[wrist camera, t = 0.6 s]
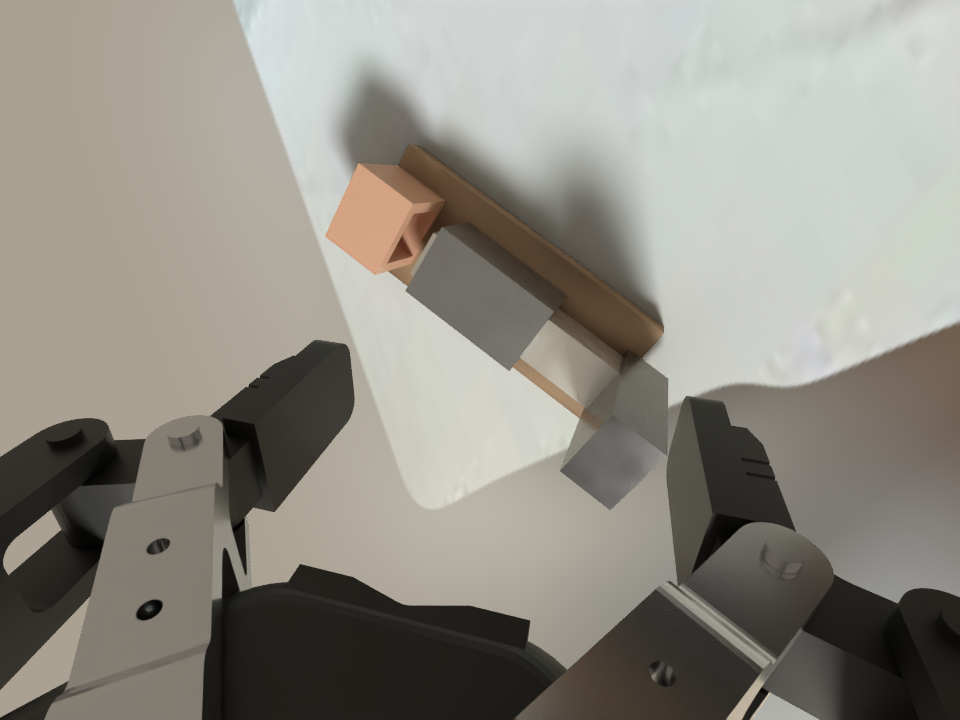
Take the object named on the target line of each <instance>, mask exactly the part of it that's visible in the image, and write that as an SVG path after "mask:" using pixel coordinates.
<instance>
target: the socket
mask: <svg viewBox="0 0 960 720" xmlns="http://www.w3.org/2000/svg"><path fill="white" fill-rule="evenodd" d="M445 202H446V201H445V200H444V199H443V198H441V197H440V196H439V195H437V194H436V193H435V192H433V191H432V190H431V189H429V188H428V187H427V186H425V185H424V184H423V183H421V182H420V181H419V180H417V179H416V178H415V177H413V176H412V175H411V174H409V173H408V172H407V171H405V170H404V169H403V168H401V167H400V166H399V165H385V164H368V163H358V165H357V167H356V170H355V172H354V174H353V176H352V178H351V181H350V183H349V185H348V187H347V189H346V191H345V194H344V196H343V198H342V200H341V202H340V205H339V207H338V209H337V211H336V213H335V216H334V218H333V220H332V222H331V224H330V226H329V229H328V231H327V233H326V235H325V237H327V238H328V239H329V240H331V241H332V242H333V243H334V244H336V245H337V246H338V247H340V248H341V249H342V250H344V251H345V252H346V253H347V254H349V255H350V256H351V257H353V258H354V259H355V260H356V261H358V262H359V263H360V264H362V265H363V266H364V267H366V268H367V269H368V270H369V271H371V272H372V273H373V274H375V275H377V274H380V273H383V272H386V271H390V270H393V269H396V268H399V267H402V266H405V265H409V264H411V263H412V261H413V259H414V257H415V256H416V254H417V252H418V250H419V249H420V247H421V245H422V243H423V241H424V240H425V238H426V236H427V234H428V233H429V231H430V229H431V227H432V225H433V224H434V222H435V220H436V218H437V217H438V215H439V213H440V211H441V209H442V208H443V206H444V204H445Z"/></svg>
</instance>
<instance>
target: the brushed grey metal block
mask: <svg viewBox="0 0 960 720" xmlns="http://www.w3.org/2000/svg"><path fill="white" fill-rule="evenodd" d="M438 233H439V232H434V233H433V234H432V236H431V238H430V240H429V241H428V243H427V245H426V247H425V248H424V250H423V252H422V254H421V255H420V257H419V259H418V261H417V262H416V264H415V266H414V268H413V269H412V271H411V273H410V274H411V275H413V276H414V275H415V273H416V271H417V270H418V268H419V266H420V264H421V263H422V261H423V259H424V257H425V256H426V254H427V252H428V250H429V249H430V247H431V245H432V243H433V242H434V240H435V238H436V236H437V235H438ZM520 358H521V359H522V360H523V361H525V362H526V363H527V364H529V365H530V366H531V367H533V368H534V369H535V370H537V371H538V372H539V373H540V374H542V375H543V376H544V377H546V378H547V379H548V380H550V381H551V382H552V383H553V384H555V385H556V386H557V387H559V388H560V389H561V390H563V391H564V392H565V393H567V394H568V395H569V396H570V397H572V398H573V399H574V400H576V401H577V402H578V403H580V404H581V405H582V406H583V407H584V409H583V412H582V414H581V417H580V420H579V422H578V425H577V427H576V430H575V433H574V435H573V438H572V441H571V443H570V446H569V448H568V451H567V454H566V457H565V459H564V461H563V464H562V467H561V469H560V471H561V472H562V473H563V474H565V475H566V476H567V477H569V478H570V479H571V480H572V481H574V482H575V483H576V484H577V485H579V486H580V487H581V488H583V489H584V490H585V491H587V492H588V493H589V494H590V495H592V496H593V497H594V498H595V499H597V500H598V501H599V502H601V503H602V504H603V505H604V506H606V507H607V508H608V509H610V510H611V509H612V508H613V507H614V506H615V505H616V504H617V503H618V502H619V501H620V500H621V499H622V498H623V497H625V496H626V495H627V494H628V493H629V492H630V491H631V490H632V489H633V488H634V487H635V486H636V485H637V484H638V483H639V482H640V481H642V480H643V479H644V478H645V477H646V476H647V475H648V474H649V473H650V472H651V471H652V470H653V469H654V468H655V467H656V466H657V465H658V464H659V463H661V462H662V461H663V460H664V459H665V458H666V457H667V436H668V433H667V432H668V378H666V377H665V376H664V375H662V374H661V373H660V372H658V371H657V370H656V369H654V368H653V367H652V366H650V365H649V364H648V363H646V362H645V361H644V360H642V359H641V358H640V357H638V356H637V355H636V354H634V353H633V352H632V351H630V350H629V349H628V351H627V352H626V353H625V354H624V355H623V356H622V355H620V354H619V353H618V352H616V351H615V350H614V349H612V348H611V347H610V346H608V345H607V344H606V343H604V342H603V341H602V340H600V339H599V338H598V337H596V336H595V335H594V334H592V333H591V332H590V331H588V330H587V329H586V328H584V327H583V326H582V325H580V324H579V323H578V322H576V321H575V320H574V319H572V318H571V317H570V316H568V315H567V314H566V313H564V312H563V311H562V310H560V309H559V308H558V309H557V310H556V311H555V312H554V313H553V314H552V316H551V317H550V318H549V319H548V321H547V322H546V323H545V325H544V326H543V327H542V329H541V330H540V331H539V333H538V334H537V335H536V337H535V338H534V339H533V341H532V342H531V343H530V344H529V346H528V347H527V348H526V350H525V351H524V352H523V354H522V355H521V356H520Z"/></svg>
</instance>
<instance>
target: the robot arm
mask: <svg viewBox="0 0 960 720" xmlns="http://www.w3.org/2000/svg"><path fill="white" fill-rule="evenodd" d="M353 407H354V388H353V379H352V369H351V359H350V352H349V349H348V347H347V345H345V344H342V343H335V342H328V341H322V340H315V341H313V342H311V343H310V344H309V345H308V346H307V347H306V348H304V349H303V350H302V351H301V352H300V353H298V354H297V355H296V356H292V357H289V358H287V359H285V360H282V361H280V362H278V363H276V364H274V365H273V366H271V367H270V368H269V369H267V370H266V371H265V372H264V373H263V374H261V375H260V378H256V379H255V380H254V381H253V382H251V383H250V384H249V387H245V388H244V389H243V390H242V391H240V392H239V393H238V394H237V395H235V396H234V397H233V398H232V399H231V400H229V401H228V402H227V403H226V404H224V405H223V406H222V407H221V408H220V409H218V410H217V411H216V412H215V413H213V414H212V415H211V416H202V415H199V416H188V417H183V418H179V419H176V420H173V421H170V422H168V423H166V424H164V425H162V426H160V427H159V428H157V429H155V430H154V431H153V432H152V433H151V434H150V435H149V436H148V437H147V438H146V439H136V440H114V439H113V437H112V434H111V432H110V429H109V427H108V425H107V423H105V422H104V421H102V420H99V419H93V418H85V419H84V418H83V419H75V420H70V421H66V422H62V423H59V424H56V425H53V426H51V427H48V428H46V429H44V430H42V431H40V432H39V433H37V434H35V435H34V436H32V437H31V438H29V439H27V440H26V441H24V442H23V443H22V444H20V445H18V446H17V447H15V448H13V449H12V450H11V451H9V452H7V453H6V454H4V455H3V456H1V457H0V690H1V689H2V688H3V686H4V685H5V684H6V683H7V682H8V681H9V680H10V679H11V678H12V677H13V676H14V675H15V674H16V673H17V672H18V671H19V670H20V669H21V668H22V667H23V666H24V665H25V664H26V663H27V661H28V660H29V659H30V658H31V657H32V656H33V655H34V654H35V653H36V652H37V651H38V650H39V649H40V648H41V647H42V646H43V645H44V643H46V642H47V640H49V638H50V637H51V636H52V635H53V634H54V633H55V632H56V631H57V630H58V629H59V628H60V627H61V626H62V625H63V624H64V623H65V622H66V621H67V620H68V619H69V618H70V616H72V615H73V613H75V611H76V610H77V609H78V608H79V607H80V606H81V605H82V604H83V603H84V602H85V601H86V600H87V599H88V598H89V597H90V600H89V604H88V608H87V612H86V616H85V620H84V624H83V627H82V631H81V635H80V639H79V643H78V647H77V651H76V655H75V659H74V663H73V667H72V671H71V675H70V678H69V681H68V682H66V683H64V684H62V685H60V686H58V687H57V688H55V689H53V690H51V691H49V692H47V693H45V694H43V695H42V696H40V697H38V698H36V699H34V700H32V701H31V702H29V703H27V704H25V705H23V706H21V707H19V708H17V709H15V710H13V711H12V712H10V713H8V714H6V715H4V716H2V717H1V718H0V720H753V718H754V717H755V715H756V714H757V713H758V711H759V710H760V708H761V707H762V706H763V704H764V702H765V701H766V700H767V698H768V697H769V696H770V694H771V693H772V694H774V695H776V696H778V697H780V698H782V699H783V700H785V701H787V702H789V703H791V704H792V705H794V706H796V707H798V708H800V709H802V710H804V711H805V712H807V713H809V714H811V715H813V716H814V717H816V718H818V719H820V720H960V597H957V596H954V595H952V594H949V593H946V592H943V591H939V590H934V589H927V588H926V589H925V588H920V589H919V588H918V589H913V590H910V591H908V592H906V593H905V594H904V595H903V597H902V598H901V600H900V601H899V602H898V603H895V602H893V601H891V600H888V599H886V598H884V597H881V596H879V595H877V594H874V593H872V592H870V591H867V590H865V589H863V588H860V587H858V586H855V585H853V584H851V583H849V582H847V581H845V580H843V579H841V578H839V577H838V576H836V575H834V573H833V568H832V566H831V564H830V562H829V560H828V558H827V557H826V556H825V554H824V553H823V552H822V551H821V550H820V549H819V548H818V547H817V546H816V545H815V544H813V543H812V542H811V541H810V540H809V539H807V538H806V537H804V536H802V535H801V534H799V533H797V532H796V530H795V528H794V525H793V522H792V520H791V517H790V514H789V512H788V509H787V507H786V504H785V501H784V499H783V496H782V493H781V491H780V488H779V486H778V483H777V481H775V475H774V473H773V470H772V467H771V466H769V463H770V462H769V459H768V457H767V454H766V452H765V449H764V446H763V444H761V442H759V440H758V439H757V438H756V437H754V435H753V434H752V433H751V432H750V431H749V430H748V429H747V428H742V427H736V426H731V424H730V421H729V417H728V415H727V411H726V408H725V405H724V403H723V402H722V401H717V400H710V399H704V398H697V397H690V396H686V397H685V399H684V401H683V403H682V407H681V411H680V414H679V418H678V422H677V426H676V429H675V433H674V437H673V440H672V444H671V448H670V452H669V456H668V463H667V488H668V497H669V506H670V516H671V524H672V534H673V544H674V553H675V562H676V572H677V581H678V587H677V586H676V585H675V584H673V583H672V582H670V581H668V582H665V583H663V584H662V585H660V586H659V587H658V588H657V589H655V590H654V591H653V592H652V593H651V594H650V595H649V596H648V597H647V598H646V599H644V600H643V601H642V602H641V603H640V604H639V605H638V606H637V607H636V608H635V609H634V610H633V611H631V612H630V613H629V614H628V615H627V616H626V617H625V618H624V619H623V620H622V621H620V622H619V623H618V624H617V625H616V626H615V627H614V628H613V629H612V630H611V631H610V632H608V633H607V634H606V635H605V636H604V637H603V638H602V639H601V640H600V641H599V642H598V643H596V644H595V645H594V646H593V647H592V648H591V649H590V650H589V651H588V652H587V653H585V655H583V656H582V657H581V658H580V659H579V660H578V661H577V662H576V663H575V664H573V665H572V666H571V667H570V668H569V669H568V670H567V669H566V668H565V667H564V666H562V665H561V664H560V663H559V662H558V661H557V660H556V659H555V658H553V657H552V656H550V655H549V654H548V653H546V652H545V651H543V650H542V649H541V648H539V647H538V646H536V645H534V644H532V643H530V642H529V641H528V635H529V626H530V620H526V619H521V618H517V617H514V616H509V615H505V614H501V613H497V612H493V611H489V610H485V609H481V608H477V607H473V606H409V605H403V604H401V603H398V602H396V601H394V600H393V599H391V598H389V597H387V596H386V595H384V594H382V593H380V592H378V591H377V590H375V589H373V588H371V587H370V586H368V585H366V584H364V583H362V582H361V581H359V580H357V579H355V578H354V577H350V576H346V575H342V574H338V573H334V572H330V571H326V570H322V569H317V568H313V567H310V566H306V565H301V564H300V565H299V567H298V568H297V570H296V571H295V573H294V574H293V576H292V577H291V578H290V580H289V582H282V583H274V584H267V585H262V586H258V587H253V588H252V581H251V561H250V542H249V525H248V520H247V517H246V515H247V514H248V513H249V511H250V510H251V509H252V508H253V507H254V508H258V509H263V510H267V511H272V512H275V511H276V510H277V508H278V507H279V506H280V505H281V503H282V502H283V501H284V500H285V499H286V497H287V496H288V494H290V492H291V491H292V490H293V489H294V487H295V486H296V485H297V483H298V482H299V481H300V480H301V479H302V478H303V476H304V475H305V474H306V473H307V471H308V470H309V469H310V468H311V466H312V465H313V464H314V463H315V461H316V460H317V459H318V458H319V456H320V455H321V454H322V453H323V452H324V450H325V449H326V448H327V447H328V445H329V444H330V443H331V442H332V440H333V439H334V438H335V436H336V435H337V434H338V433H339V432H340V430H341V429H342V428H343V427H344V425H345V424H346V423H347V422H348V420H349V419H350V417H351V414H352V411H353ZM50 510H52V511H53V514H54V516H55V518H56V520H57V521H58V524H59V525H60V527H61V529H62V530H61V531H60V532H58V533H57V534H56V535H55V536H54V537H53V538H52V539H50V540H49V541H48V542H47V543H46V544H44V545H43V546H42V547H41V548H40V549H39V550H37V551H36V552H35V553H34V554H33V555H32V556H30V557H29V558H28V559H27V560H26V561H25V562H24V563H22V564H21V565H20V566H19V567H18V568H17V569H15V570H14V571H13V572H12V573H11V574H10V575H8V574H7V573H6V571H5V569H4V566H3V558H4V554H5V551H6V550H7V548H8V546H9V545H10V543H11V542H12V541H13V540H14V539H15V538H16V537H17V536H19V535H20V534H21V533H22V532H24V530H26V529H27V528H28V527H30V526H31V525H32V524H33V523H35V522H36V521H37V520H38V519H40V518H41V517H42V516H43V515H45V514H46V513H47V512H48V511H50Z"/></svg>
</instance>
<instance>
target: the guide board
mask: <svg viewBox="0 0 960 720" xmlns="http://www.w3.org/2000/svg"><path fill="white" fill-rule="evenodd" d="M399 166H400V167H401V168H403V169H404V170H405V171H407V172H408V173H409V174H411V175H412V176H413V177H415V178H416V179H417V180H419V181H420V182H421V183H423V184H424V185H425V186H427V187H428V188H429V189H431V190H432V191H433V192H435V193H436V194H437V195H439V196H440V197H441V198H443V199H444V200H445V201H446V202H445V204H444V206H443V208H442V209H441V211H440V213H439V215H438V217H437V218H436V220H435V222H434V224H433V225H432V227H431V229H430V231H429V233H428V234H427V236H426V238H425V240H424V241H423V243H422V245H421V247H420V249H419V250H418V252H417V254H416V256H415V257H414V259H413V261H412V263H411V264H409V265H405V266H402V267H399V268H396V269H393V270H390V271H389V272H390V273H391V274H393V275H394V276H395V277H396V278H398V279H399V280H400V281H402V282H403V283H404V284H406V285H407V286H408V285H409V284H410V282H411V280H412V278H413V277H414V276H413V275H411V274H410V273H411V271H412V269H413V268H414V266H415V264H416V262H417V261H418V259H419V257H420V255H421V254H422V252H423V250H424V248H425V247H426V245H427V243H428V241H429V240H430V238H431V236H432V234H433V233H434V232H439V231H440V230H441V228H442V227H445V226H450V225H455V224H460V223H465V222H470V223H471V224H473V225H474V226H475V227H477V228H478V229H479V230H481V231H482V232H483V233H485V234H486V235H487V236H489V237H490V238H491V239H493V240H494V241H495V242H497V243H498V244H499V245H501V246H502V247H503V248H505V249H506V250H507V251H509V252H510V253H511V254H513V255H514V256H515V257H517V258H518V259H519V260H521V261H522V262H523V263H525V264H526V265H527V266H529V267H530V268H531V269H533V270H534V271H535V272H537V273H538V274H539V275H541V276H542V277H543V278H545V279H546V280H547V281H549V282H550V283H551V284H553V285H554V286H556V287H557V288H558V289H560V290H561V291H562V292H564V293H565V294H566V295H568V297H567V298H566V299H565V301H564V302H563V303H562V305H561V306H560V307H559V309H560V310H562V311H563V312H564V313H566V314H567V315H568V316H570V317H571V318H572V319H574V320H575V321H576V322H578V323H579V324H580V325H582V326H583V327H584V328H586V329H587V330H588V331H590V332H591V333H592V334H594V335H595V336H596V337H598V338H599V339H600V340H602V341H603V342H604V343H606V344H607V345H608V346H610V347H611V348H612V349H614V350H615V351H616V352H618V353H619V354H620V355H622V356H623V355H624V354H625V353H626V352H627V351H628V349H629V350H630V351H632V352H633V353H634V354H636V355H637V356H638V357H640V358H642V357H643V355H644V354H645V353H646V352H647V351H648V350H649V349H650V348H651V347H652V345H653V344H654V343H655V342H656V341H657V340H658V339H659V338H660V337H661V335H662V334H663V333H664V326H662V325H661V324H659V323H658V322H657V321H655V320H654V319H653V318H651V317H650V316H649V315H647V314H646V313H645V312H643V311H642V310H641V309H639V308H638V307H636V306H635V305H634V304H632V303H631V302H630V301H628V300H627V299H626V298H624V297H623V296H622V295H620V294H619V293H618V292H616V291H615V290H613V289H612V288H611V287H609V286H608V285H607V284H605V283H604V282H603V281H601V280H600V279H599V278H597V277H596V276H595V275H593V274H592V273H590V272H589V271H588V270H586V269H585V268H584V267H582V266H581V265H580V264H578V263H577V262H576V261H574V260H573V259H572V258H570V257H569V256H567V255H566V254H565V253H563V252H562V251H561V250H559V249H558V248H557V247H555V246H554V245H553V244H551V243H550V242H549V241H547V240H546V239H544V238H543V237H542V236H540V235H539V234H538V233H536V232H535V231H534V230H532V229H531V228H530V227H528V226H527V225H526V224H524V223H523V222H521V221H520V220H519V219H517V218H516V217H515V216H513V215H512V214H511V213H509V212H508V211H507V210H505V209H504V208H503V207H501V206H500V205H498V204H497V203H496V202H494V201H493V200H492V199H490V198H489V197H488V196H486V195H485V194H484V193H482V192H481V191H480V190H478V189H477V188H475V187H474V186H473V185H471V184H470V183H469V182H467V181H466V180H465V179H463V178H462V177H461V176H459V175H458V174H457V173H455V172H454V171H452V170H451V169H450V168H448V167H447V166H446V165H444V164H443V163H442V162H440V161H439V160H438V159H436V158H435V157H434V156H432V155H431V154H429V153H428V152H427V151H425V150H424V149H423V148H421V147H420V146H417V145H410V144H409V145H408V147H407V149H406V151H405V153H404V155H403V157H402V159H401V161H400V163H399ZM513 368H515V369H516V370H517V371H519V372H520V373H521V374H523V375H524V376H525V377H526V378H528V379H529V380H530V381H532V382H533V383H534V384H536V385H537V386H538V387H539V388H541V389H542V390H543V391H545V392H546V393H547V394H549V395H550V396H551V397H552V398H554V399H555V400H556V401H558V402H559V403H560V404H562V405H563V406H564V407H565V408H567V409H568V410H569V411H571V412H572V413H573V414H575V415H576V416H577V417H578V418H580V417H581V414H582V412H583V409H584V407H583V406H582V405H581V404H580V403H578V402H577V401H576V400H574V399H573V398H572V397H570V396H569V395H568V394H567V393H565V392H564V391H563V390H561V389H560V388H559V387H557V386H556V385H555V384H553V383H552V382H551V381H550V380H548V379H547V378H546V377H544V376H543V375H542V374H540V373H539V372H538V371H537V370H535V369H534V368H533V367H531V366H530V365H529V364H527V363H526V362H525V361H523V360H522V359H521V358H520V359H519V360H518V361H517V363H516V364H515V365H514V366H513Z"/></svg>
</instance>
